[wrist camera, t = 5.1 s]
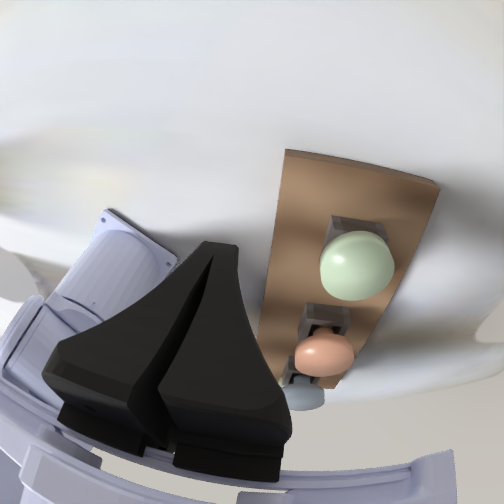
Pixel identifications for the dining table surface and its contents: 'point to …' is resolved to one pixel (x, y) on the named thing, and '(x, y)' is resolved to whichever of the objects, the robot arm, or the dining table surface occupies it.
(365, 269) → the sage button
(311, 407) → the slate button
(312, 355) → the terracotta button
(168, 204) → the dining table surface
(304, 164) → the button board
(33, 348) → the robot arm
